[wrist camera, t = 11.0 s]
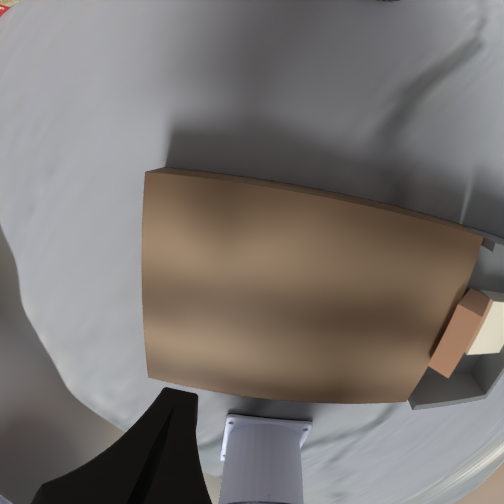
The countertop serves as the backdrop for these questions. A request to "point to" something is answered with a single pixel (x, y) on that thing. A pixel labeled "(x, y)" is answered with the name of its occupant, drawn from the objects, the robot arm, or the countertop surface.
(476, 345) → the tile back
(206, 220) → the wooden serving tray
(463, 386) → the bin
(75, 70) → the countertop surface
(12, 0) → the stack of blocks
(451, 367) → the tile front
